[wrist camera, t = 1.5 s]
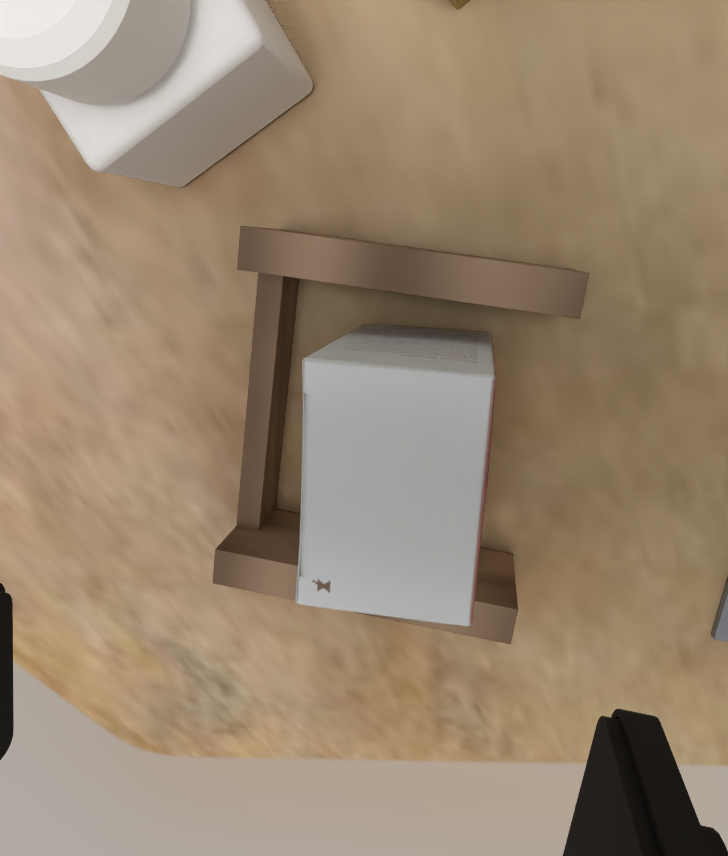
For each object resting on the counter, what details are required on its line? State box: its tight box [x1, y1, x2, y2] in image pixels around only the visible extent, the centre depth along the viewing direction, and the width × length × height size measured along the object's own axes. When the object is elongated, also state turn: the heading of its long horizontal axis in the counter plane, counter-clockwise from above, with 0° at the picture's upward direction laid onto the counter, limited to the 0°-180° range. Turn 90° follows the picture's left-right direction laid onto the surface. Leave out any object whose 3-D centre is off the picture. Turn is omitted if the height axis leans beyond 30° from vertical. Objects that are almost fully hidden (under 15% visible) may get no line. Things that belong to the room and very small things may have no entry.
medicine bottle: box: [0, 0, 313, 188], centre depth 22 cm, size 7×7×12 cm
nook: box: [213, 226, 589, 644], centre depth 28 cm, size 12×14×5 cm
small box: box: [295, 324, 496, 626], centre depth 25 cm, size 8×6×10 cm
